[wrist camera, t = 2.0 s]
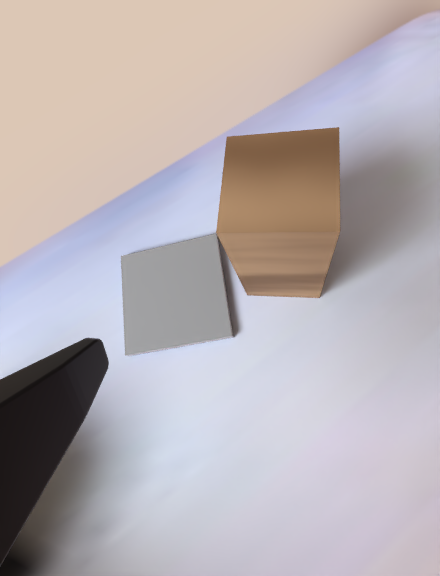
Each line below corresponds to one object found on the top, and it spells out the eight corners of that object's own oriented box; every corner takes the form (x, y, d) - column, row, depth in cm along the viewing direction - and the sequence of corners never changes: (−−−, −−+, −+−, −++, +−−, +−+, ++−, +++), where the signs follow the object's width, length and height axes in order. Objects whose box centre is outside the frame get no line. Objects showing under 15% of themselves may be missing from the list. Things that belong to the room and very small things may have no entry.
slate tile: (233, 337, 22) (232, 336, 21) (129, 356, 23) (125, 355, 23) (217, 236, 25) (216, 233, 24) (124, 259, 26) (121, 256, 25)
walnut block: (319, 297, 22) (339, 231, 12) (247, 295, 23) (216, 232, 13) (320, 232, 23) (339, 127, 14) (252, 232, 24) (226, 136, 15)
